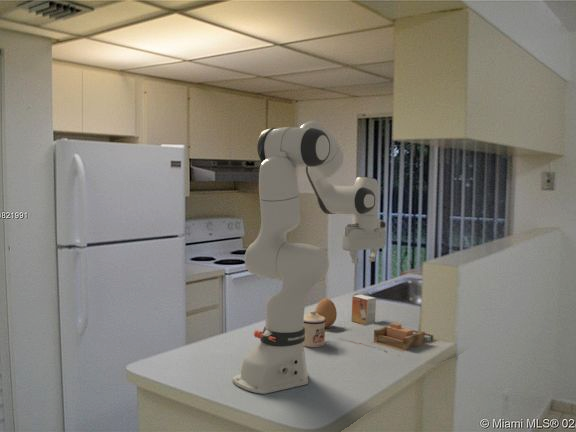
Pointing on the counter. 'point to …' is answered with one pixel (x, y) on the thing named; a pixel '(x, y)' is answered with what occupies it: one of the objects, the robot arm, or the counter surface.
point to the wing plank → (425, 336)
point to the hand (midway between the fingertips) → (363, 262)
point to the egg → (327, 311)
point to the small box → (363, 309)
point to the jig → (406, 344)
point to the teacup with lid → (314, 329)
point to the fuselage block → (398, 331)
